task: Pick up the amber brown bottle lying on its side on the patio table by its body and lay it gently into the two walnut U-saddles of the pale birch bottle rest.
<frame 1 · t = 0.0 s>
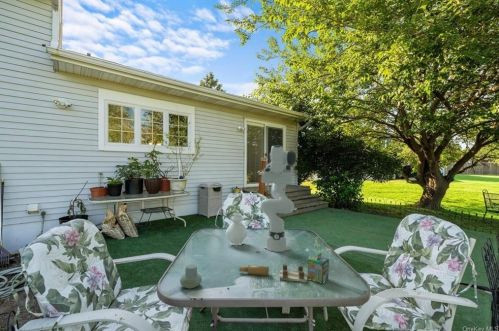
hand: (276, 190, 164), 48 cm above the table, tool pointing down, fingers open, 8 cm apart
amber bottle: (258, 274, 145), on the table
bottle rest: (292, 277, 143), on the table
chalk box: (318, 279, 141), on the table
decorative vase: (236, 244, 205), on the table
air freshener: (190, 286, 129), on the table
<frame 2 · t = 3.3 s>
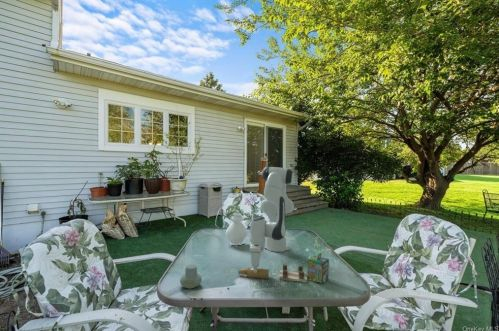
hand: (256, 269, 144), 3 cm above the table, tool pointing down, fingers open, 8 cm apart
amber bottle: (258, 270, 144), point 3 cm above the table, tilted 104°, touching gripper
everything else where it was.
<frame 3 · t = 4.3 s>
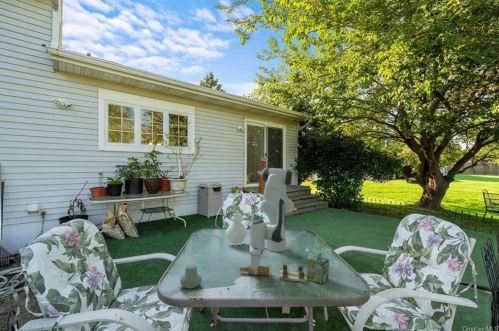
hand: (256, 271, 146), 2 cm above the table, tool pointing down, fingers closed on amber bottle, 5 cm apart
amber bottle: (259, 271, 147), point 1 cm above the table, tilted 53°, touching gripper
everything else where it was.
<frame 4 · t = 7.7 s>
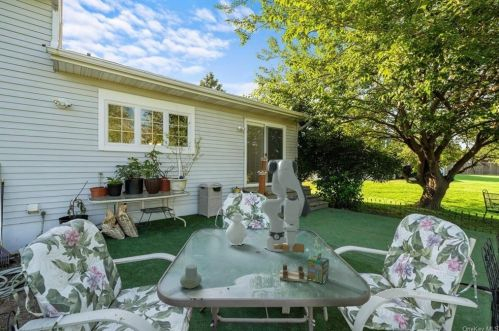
hand: (290, 248, 143), 16 cm above the table, tool pointing down, fingers closed on amber bottle, 5 cm apart
amber bottle: (293, 249, 145), point 15 cm above the table, tilted 51°, touching gripper
everything else where it was.
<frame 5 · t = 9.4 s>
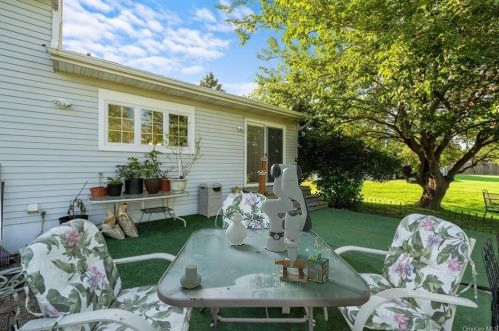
hand: (291, 264, 143), 7 cm above the table, tool pointing down, fingers closed on amber bottle, 5 cm apart
amber bottle: (294, 264, 145), point 6 cm above the table, tilted 50°, touching gripper
everything else where it was.
when the fingers open (5 cm above the table, at t = 10.8 s): amber bottle stays where it is, resting on bottle rest.
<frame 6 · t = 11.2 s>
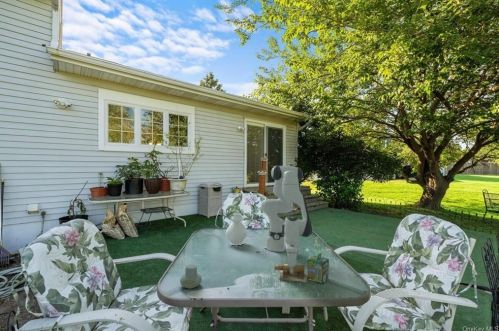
hand: (291, 269, 143), 5 cm above the table, tool pointing down, fingers open, 8 cm apart
amber bottle: (293, 270, 145), point 3 cm above the table, tilted 53°, touching bottle rest
everything else where it was.
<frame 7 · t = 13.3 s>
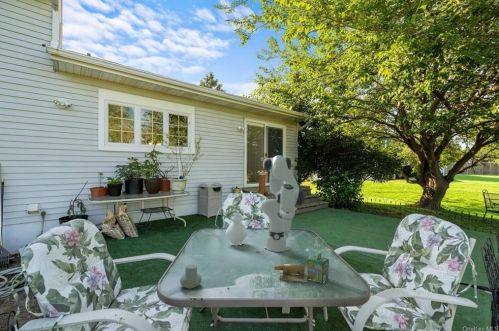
hand: (286, 235, 150), 22 cm above the table, tool pointing down, fingers open, 8 cm apart
nothing on the table moved.
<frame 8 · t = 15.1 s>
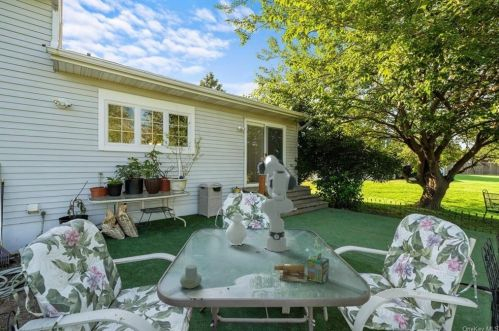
hand: (278, 217, 158), 31 cm above the table, tool pointing down, fingers open, 8 cm apart
nothing on the table moved.
at the end: amber bottle 2.0 cm off-centre on the bottle rest, point 3.4 cm above the bottle rest's base; amber bottle touching bottle rest; the gripper is holding nothing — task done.
